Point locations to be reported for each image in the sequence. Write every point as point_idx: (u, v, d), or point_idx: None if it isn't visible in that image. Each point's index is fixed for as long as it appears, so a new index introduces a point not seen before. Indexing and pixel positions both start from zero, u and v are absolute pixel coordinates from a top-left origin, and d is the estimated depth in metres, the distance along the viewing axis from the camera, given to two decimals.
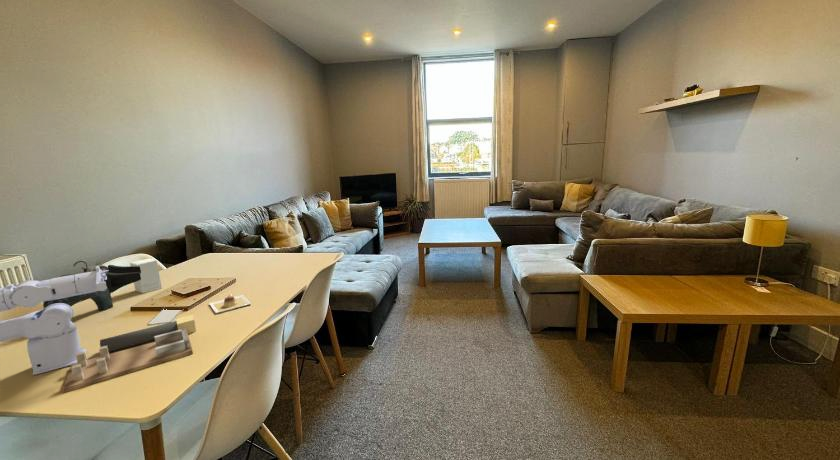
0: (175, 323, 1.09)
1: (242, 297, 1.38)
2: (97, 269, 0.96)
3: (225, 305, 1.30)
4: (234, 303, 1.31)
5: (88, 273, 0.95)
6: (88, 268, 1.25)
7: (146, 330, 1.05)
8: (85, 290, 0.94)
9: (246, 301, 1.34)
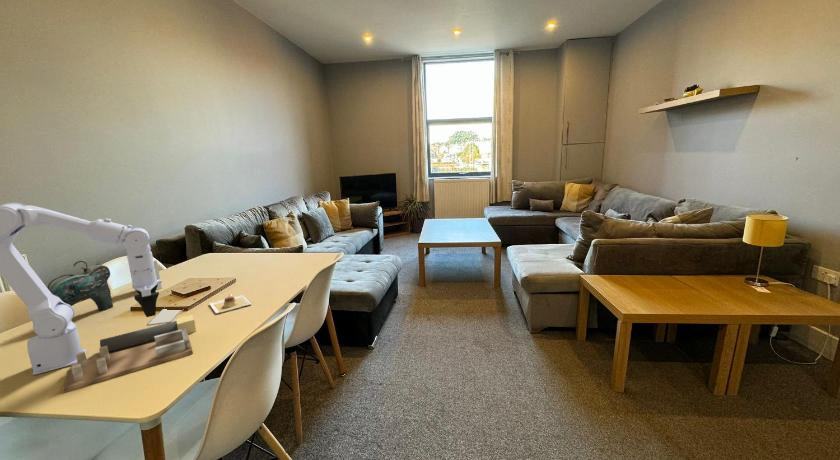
0: (175, 323, 1.09)
1: (242, 297, 1.37)
2: (159, 282, 1.05)
3: (225, 305, 1.29)
4: (234, 303, 1.31)
5: (155, 276, 1.04)
6: (88, 268, 1.25)
7: (146, 330, 1.05)
8: (137, 276, 1.00)
9: (246, 301, 1.33)
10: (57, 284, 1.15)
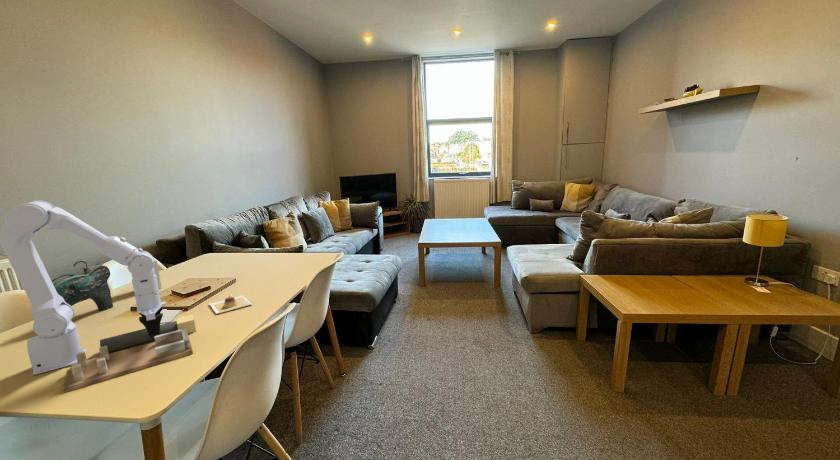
0: (175, 323, 1.09)
1: (242, 297, 1.37)
2: (163, 304, 1.06)
3: (225, 306, 1.29)
4: (234, 304, 1.31)
5: (159, 299, 1.06)
6: (88, 268, 1.25)
7: (146, 330, 1.05)
8: (141, 300, 1.02)
9: (246, 301, 1.33)
10: (57, 284, 1.15)
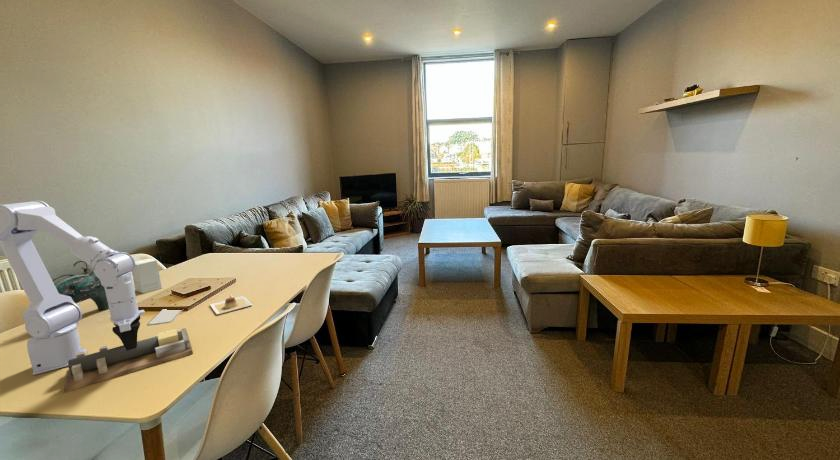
0: (156, 338, 0.97)
1: (243, 298, 1.37)
2: (141, 313, 0.94)
3: (226, 306, 1.29)
4: (235, 304, 1.30)
5: (137, 307, 0.93)
6: (88, 268, 1.25)
7: (122, 347, 0.93)
8: (115, 309, 0.90)
9: (247, 302, 1.33)
10: (57, 284, 1.15)
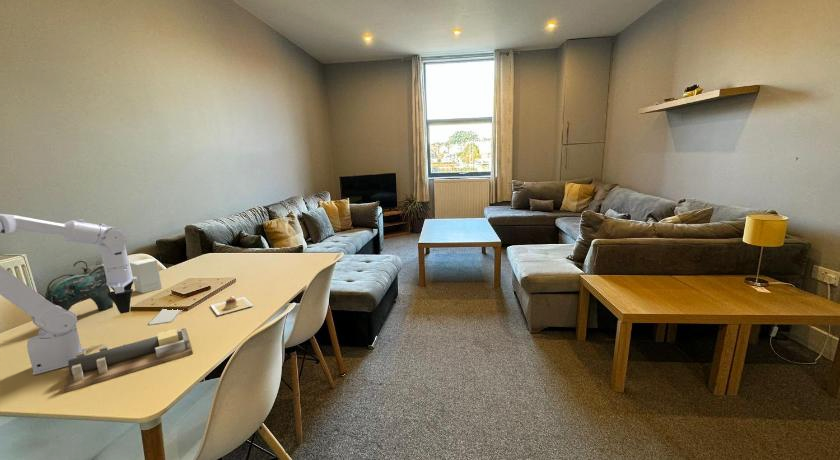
0: (156, 338, 0.97)
1: (244, 299, 1.36)
2: (134, 279, 1.06)
3: (227, 307, 1.28)
4: (236, 305, 1.29)
5: (130, 273, 1.06)
6: (88, 268, 1.25)
7: (122, 347, 0.93)
8: (110, 274, 1.02)
9: (248, 303, 1.32)
10: (57, 284, 1.15)
